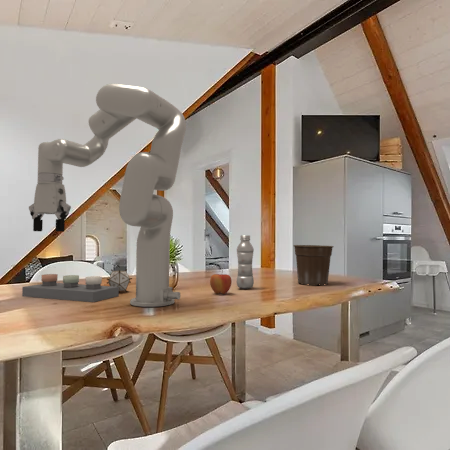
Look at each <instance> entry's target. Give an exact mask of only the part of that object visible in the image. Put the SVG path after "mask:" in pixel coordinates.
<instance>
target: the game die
mask: <svg viewBox="0 0 450 450" xmlns="http://www.w3.org/2000/svg"><path fill="white" fill-rule="evenodd" d="M127 270H128V268H125V270H120V269H119V270H113V269H112V268H111V269H110V271H111V273H110V275H109V278H106V280H107V282H106V284H108V286H113V287H119V292H125V293H128V291H127V289H128V286H129V284H131V283H132V281H130V280H132V279H133V277H130V276H129V274H128V272H127Z"/></svg>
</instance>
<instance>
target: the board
mask: <svg viewBox="0 0 450 450" xmlns="http://www.w3.org/2000/svg"><path fill="white" fill-rule="evenodd" d="M21 292H22V294H21V296H22V297H28V298H37V299H51V300H60V301H61V300H62V301H63V300H64V301H73V302H85V303H95V302H101V301H104V299H105V300H108V299H112V298H116V297H119V296H120V295H119V292H120V291H119V287H113V286H110V285H101V288H100V289H95V290H93V289H86V284H81V283H80V284H79V283H78V287H74V288H64V283H63V282H56V285H55V286H42V283H40V284H33V285H27V286H22V291H21Z"/></svg>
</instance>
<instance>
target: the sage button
mask: <svg viewBox="0 0 450 450" xmlns="http://www.w3.org/2000/svg"><path fill="white" fill-rule="evenodd" d="M62 283H64V288H74V287H78V284H79V283H80V275H78V274H76V275H75V274H70V275H68V274H67V275H62Z"/></svg>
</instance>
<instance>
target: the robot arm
mask: <svg viewBox="0 0 450 450" xmlns="http://www.w3.org/2000/svg"><path fill="white" fill-rule="evenodd" d="M95 102H96V106H97V107H98V110H97V111H96V112H94V114H91V116H89V118H88V126H89V128H90V130H91V132H92V133H93V137H92V138H91V139H90V140H89V141H87V142H86V143H84V144H81V143H78V142H75V141H71V140H69V139H68V140H67V139H65V138H57V139H55V140H53V141H50V142H49V141H46V142H40V143H39V145H38V147H37V148H38V153H37V183H36V186H35V191H34V199H33V203H32V204H31V205H29V206H28V210H29V214H30V216H31V220H33V225H32V228H33V229H32V231H33V232H43V225H44V224H43V219H42V218H43V217H44V215H45V214H46V215H55V217H56V218H57V219H55V232H58V233H59V232H63V233H64V232H65V228H66V227H65V226H66V224H65V221H66V220H67V217H68V215H69V214H70V213H69V212H70V211H71V209H72V206H71V205H70V204H69V203H67V195H66V194H67V193H66V188H65V184H63V181H64V179H65V178H64V176H63V173H64V172H63V169H64V164H66V165H70V166H74V167H78V168H86V167H88V166H90V165H92V164H93V163H94V162H96V161H98V160H99V159H100V158H101V157H103V155H104V154H105V153H106V150H107V149H108V146H109V141H110V139H112V138H113V137H114V136H115V135H117V134H118V133H119V132H121V131H122V130H123V129H125V128H127V126H128V125H130V124H131V123H133V122H134V121H135V120H136V119H137V120H139V121H141V122H142V123H145V124H147V125H149V126H152V127H153V128H156V129H158V131H156V133H155V135H154V137H153V139H152V142H151V146H150V152H148V151H141V152H138V153H136V154H134V155H133V156H132V157H131V159H130V160H129V162H128V163H127V165H126V169H125V171H124V176H123V177H124V179H123V182H122V183H123V184H122V187H121V192H120V196H119V197H120V198H119V203H118V204H119V206H118V212H119V216H120V217H121V218H120V219H121V220H122V221H123V222H124V223H125V224H126V225H128V226H132V227H138V228H139V231H138V234H137V238H136V251H135V252H136V258H135V260H136V262H135V264H136V265H135V269H136V270H135V273H136V274H135V277H136V278H135V297H132V298H131V299H130V301H129V303H130V305H132V306H135V307H141V308H142V307H144V308H152V307H153V308H155V307H165V306H171V305H173V304H175V300H180V299H181V292H180V291H173V287H172V286H170V259H171V258H170V252H171V251H170V249H171V248H170V247H171V230H172V223H173V218H174V210H173V206H172V204H171V202H170V201H169V200H168V199H167V198H166V197H164V196H162V195H158V194H154V191H168V190H170V189H171V188H172V187H173V186H174V184H175V182H176V177H177V172H178V169H179V163H180V157H181V151H182V147H183V143H184V138H185V135H186V128H187V122H186V118H185V116H184V115H183V113H182V112H181V110H180V109H179V108H177V107H176V106H175V105H174V104H172V103H171V102H169V101H168V100H166V99H165V98H163V97H162V96H160V95H159V94H156V93H155V92H153V90H151V89H148V88H146V87H143V86H136V85H129V84H121V83H108V84H106V85H103V86H101V87H100V89H99V90H98V92H97V94H96V96H95Z"/></svg>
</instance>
